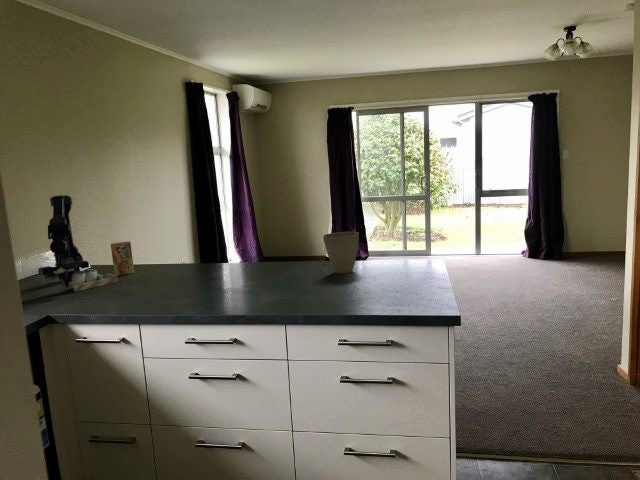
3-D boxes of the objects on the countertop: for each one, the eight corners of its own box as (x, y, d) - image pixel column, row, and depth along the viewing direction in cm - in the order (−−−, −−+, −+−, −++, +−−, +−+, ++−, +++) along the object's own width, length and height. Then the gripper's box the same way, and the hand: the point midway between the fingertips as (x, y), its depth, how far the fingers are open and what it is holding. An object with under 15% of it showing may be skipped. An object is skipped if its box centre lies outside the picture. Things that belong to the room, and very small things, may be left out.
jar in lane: (81, 284, 227) (82, 269, 227) (93, 284, 231) (94, 269, 231) (86, 285, 223) (87, 270, 223) (98, 285, 227) (99, 270, 227)
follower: (101, 284, 227) (99, 275, 227) (94, 283, 232) (93, 274, 231) (103, 283, 228) (102, 274, 228) (97, 282, 233) (95, 273, 232)
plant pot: (362, 267, 224) (360, 230, 222) (359, 275, 210) (356, 236, 207) (328, 268, 227) (326, 232, 225) (322, 276, 213) (320, 237, 210)
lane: (75, 291, 218) (74, 284, 218) (66, 289, 224) (65, 282, 224) (118, 281, 232) (117, 275, 231) (108, 279, 238) (107, 273, 237)
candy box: (133, 271, 254) (129, 240, 252) (134, 273, 250) (130, 241, 248) (114, 274, 250) (110, 243, 248) (115, 275, 246) (110, 244, 244)
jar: (69, 286, 223) (70, 270, 223) (81, 285, 227) (82, 270, 227) (74, 288, 220) (75, 272, 219) (86, 287, 224) (87, 272, 223)
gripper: (45, 255, 205) (50, 294, 207) (92, 248, 219) (96, 285, 221) (35, 254, 213) (40, 291, 215) (81, 247, 227) (85, 282, 228)
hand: (66, 287), depth 220 cm, fingers closed
